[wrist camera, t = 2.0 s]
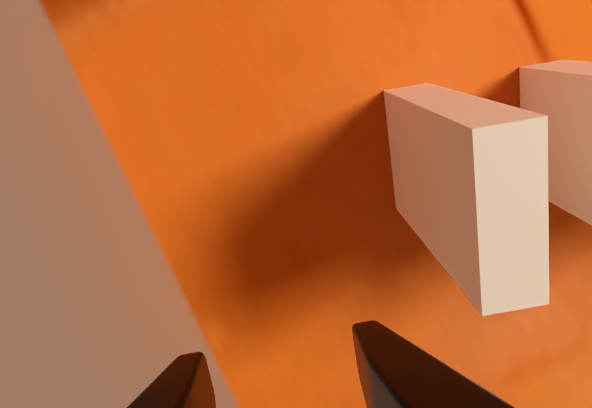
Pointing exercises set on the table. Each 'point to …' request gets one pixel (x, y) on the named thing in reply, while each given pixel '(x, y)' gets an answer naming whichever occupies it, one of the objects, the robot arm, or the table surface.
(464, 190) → the domino
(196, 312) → the table surface
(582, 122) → the domino
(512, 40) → the table surface
